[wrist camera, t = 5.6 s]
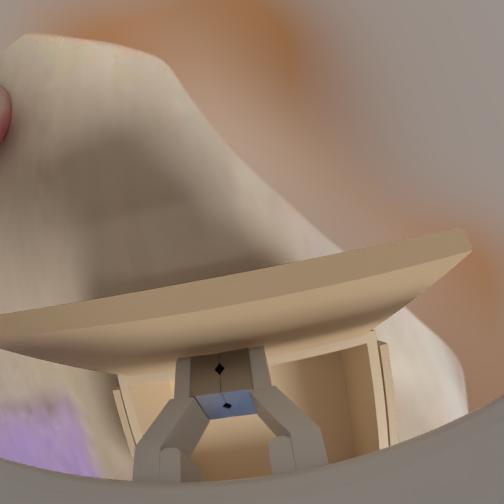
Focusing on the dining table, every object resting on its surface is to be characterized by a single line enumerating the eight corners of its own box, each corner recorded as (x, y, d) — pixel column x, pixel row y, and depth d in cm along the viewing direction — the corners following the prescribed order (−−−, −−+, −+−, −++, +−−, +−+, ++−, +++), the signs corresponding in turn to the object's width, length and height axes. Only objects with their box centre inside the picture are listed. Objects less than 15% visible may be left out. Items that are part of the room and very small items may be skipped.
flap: (362, 335, 16) (473, 250, 6) (127, 375, 16) (-30, 339, 6) (359, 323, 16) (461, 223, 6) (126, 364, 16) (-28, 316, 6)
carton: (370, 479, 22) (399, 526, 14) (194, 507, 22) (174, 559, 14) (349, 320, 24) (386, 327, 17) (150, 355, 25) (107, 375, 17)
